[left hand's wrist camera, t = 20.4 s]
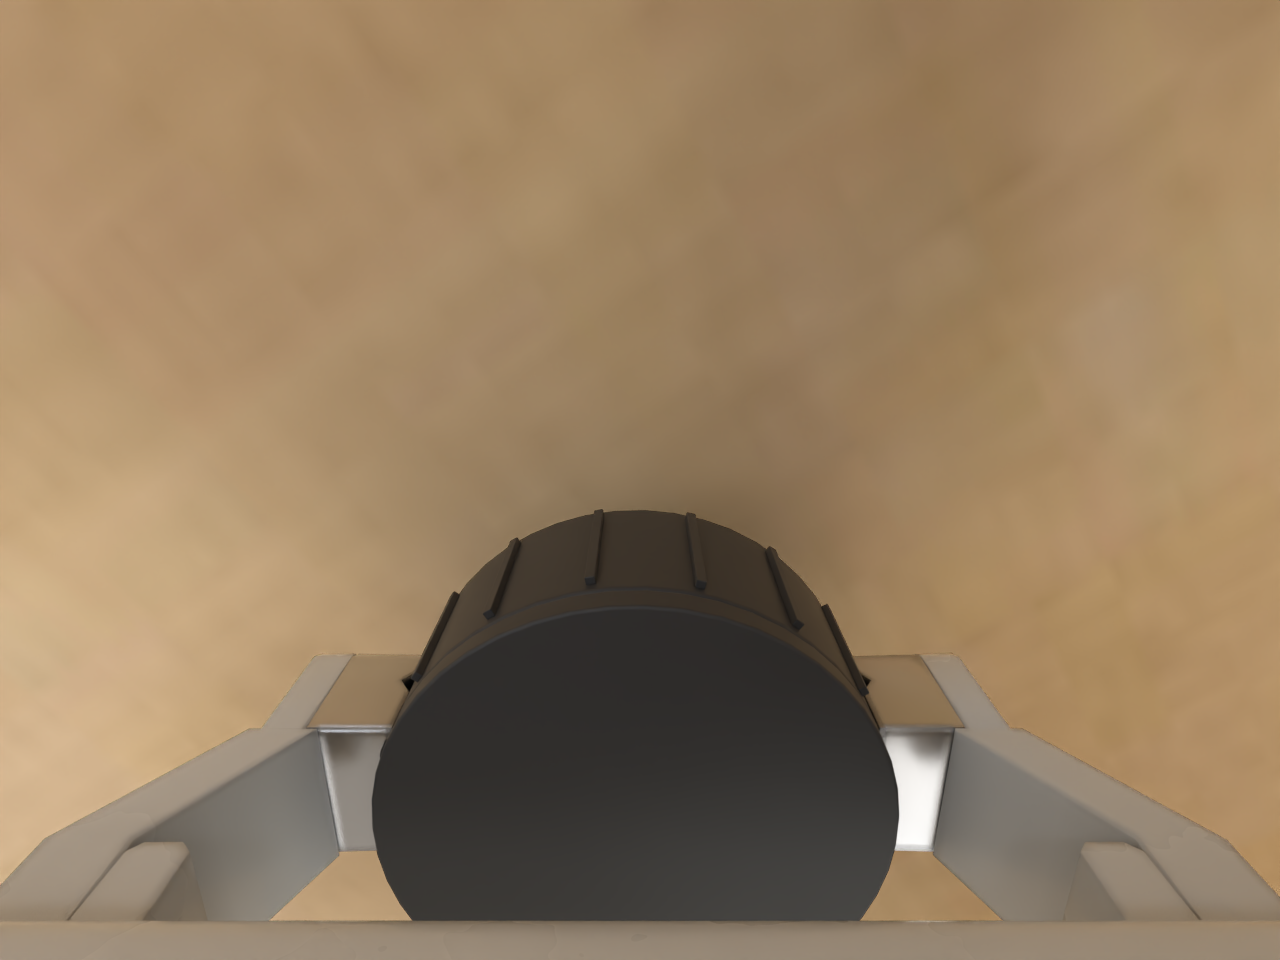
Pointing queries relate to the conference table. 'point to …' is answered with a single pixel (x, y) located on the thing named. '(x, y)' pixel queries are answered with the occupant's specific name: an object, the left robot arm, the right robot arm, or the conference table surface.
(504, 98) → the conference table surface
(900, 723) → the left robot arm
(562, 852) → the lid
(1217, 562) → the conference table surface
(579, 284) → the conference table surface
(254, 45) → the conference table surface
